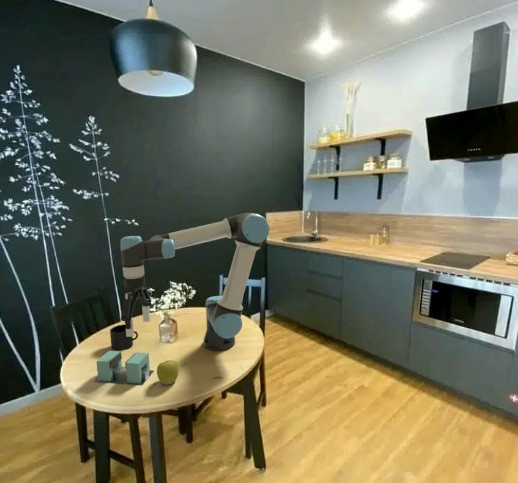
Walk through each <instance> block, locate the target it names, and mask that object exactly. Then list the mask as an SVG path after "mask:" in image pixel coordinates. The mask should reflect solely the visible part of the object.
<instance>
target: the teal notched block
mask: <svg viewBox="0 0 518 483" xmlns="http://www.w3.org/2000/svg"><path fill="white" fill-rule="evenodd" d="M121 351H122V350H120V351H116V350H108V351H107V352H106V353H104V354H103V355H102V356H101V357H100V358H98V359H97V360H96V371H97V378H98V380H100V381H111V380H112V379H113V372H112V367H113V366H119V367H123V365H122V364H123V363H122V360H123V358H122V357H123V356H122V352H121Z"/></svg>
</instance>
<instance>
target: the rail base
mask: <svg viewBox="0 0 518 483" xmlns="http://www.w3.org/2000/svg"><path fill="white" fill-rule="evenodd" d="M112 372H113V379H112V380H111V381H100V380H98V377H97V378H95V379H94V380H93V381H92V382H93V383H101V384H102V383H103V384H115V385H116V384H118V385H129V386H130V385H131V386H143V385H144V383H146V381H147V380H148V379H149V378H150V377H151V375H152V374H153V373H154V372H155V370H151V369H150V372H149V369H148V368H141V372H142V381H141V383H128V382H127V371H126V367H125V366H122V367H119V366H113V367H112Z"/></svg>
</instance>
